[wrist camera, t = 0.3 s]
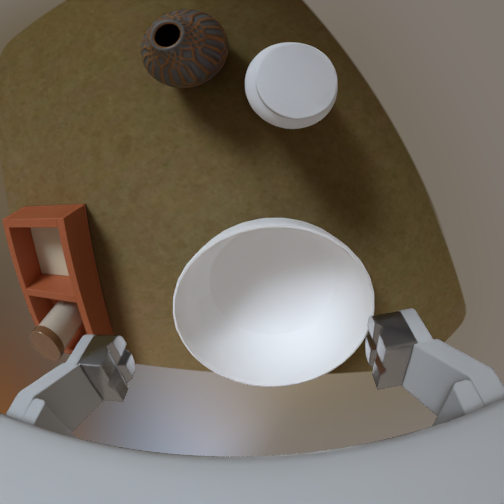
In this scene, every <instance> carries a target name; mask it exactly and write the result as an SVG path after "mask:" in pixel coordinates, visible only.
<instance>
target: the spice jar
mask: <svg viewBox="0 0 504 504" xmlns="http://www.w3.org/2000/svg"><path fill="white" fill-rule="evenodd" d="M82 324H83V321H82V318H81V315H80V312H79V309H78V305H77V302H69V301H62V300H59V301H58V302H57V303H56V304H55V306H54V307H53V308H52V309H51V310H50V312H49V313H48V314H47V315H46V316H45V318H44V319H43V320H42V321H41V322H40V324H39V325H38V326H36V327H35V329H34V330H33V331H32V332H31V334H30V341H31V343H32V345H33V347H34V348H35V349H36V351H37V352H38V353H39V354H40V355H42V356H43V357H44V358H46V359H48V360H50V361H58V360H59V359H60V358H61V356H62V355H63V353H64V350H65V349H66V347H67V346H68V344H69V343H70V341H71V340H72V338H73V337H74V335H75V334H76V332H77V331H78V329H79V328H80V327H81V325H82Z"/></svg>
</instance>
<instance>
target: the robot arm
mask: <svg viewBox="0 0 504 504" xmlns="http://www.w3.org/2000/svg"><path fill="white" fill-rule="evenodd" d="M367 327H368V329H369V332H370V333H369V334H368V335H367V336H366V342H365V349H366V356H367V360H368V363H369V365H371V366H372V367H373V372H372V375H373V378H374V381H375V384H376V387H377V389H384V388H388V387H394V386H399V385H402V387H403V388H405V389H406V390H407V391H408V392H409V393H411V394H412V395H413V396H414V397H415V398H417V399H418V400H419V401H420V402H422V403H423V404H424V405H425V406H426V407H427V408H429V409H430V410H431V411H432V412H433V413H434V414H436V415H437V416H438V417H437V419H436V420H435V422H434V424H433V425H432V427H429V428H425V429H422V430H419V431H415V432H412V433H408V434H404V435H400V436H397V437H392V438H388V439H384V440H380V441H375V442H370V443H366V444H361V445H355V446H350V447H344V448H338V449H332V450H324V451H317V452H308V453H298V454H287V455H272V456H249V457H248V456H247V457H217V456H193V455H179V454H167V453H158V452H149V451H142V450H135V449H129V448H122V447H116V446H111V445H106V444H101V443H96V442H92V441H87V440H83V439H79V438H77V437H76V436H75V435H74V434H73V433H72V432H73V431H74V430H75V429H76V428H77V427H78V426H79V425H80V424H81V423H82V422H83V421H84V420H85V419H86V418H87V417H88V416H89V415H90V414H91V413H92V412H93V411H94V410H95V409H96V408H97V407H98V406H99V405H100V404H101V403H102V402H103V400H106V401H118V402H123V401H124V398H125V396H126V393H127V391H128V385H127V382H128V381H130V380H131V379H132V378H133V375H134V372H135V362H134V358H133V356H132V354H131V353H130V352H129V351H128V350H126V349H125V347H126V342H125V340H124V338H123V337H122V336H120V335H101V334H97V335H95V334H86V335H83V336H82V338H81V339H80V341H79V343H78V344H77V346H76V347H75V349H74V350H73V352H72V354H71V355H70V357H69V358H68V360H67V362H66V363H62V364H61V365H59V366H58V367H56V368H54V369H53V370H51V371H50V372H49V373H47V374H45V375H44V376H42V377H41V378H40V379H38V380H37V381H35V382H34V383H32V384H31V385H29V386H28V387H26V388H25V389H23V390H22V391H20V392H19V393H18V395H17V396H16V398H15V399H14V401H13V403H12V405H11V406H10V408H9V410H8V411H7V413H6V415H3V414H1V413H0V504H504V386H503V384H502V383H501V381H500V380H499V378H498V376H497V375H496V373H495V371H494V370H493V368H491V367H489V366H487V365H485V364H483V363H482V362H480V361H478V360H476V359H474V358H472V357H470V356H469V355H467V354H465V353H463V352H461V351H459V350H457V349H455V348H453V347H452V346H450V345H448V344H446V343H444V342H442V341H440V340H439V339H435V340H433V338H432V336H431V335H430V333H429V331H428V330H427V328H426V327H425V325H424V323H423V322H422V320H421V318H420V317H419V315H418V314H417V312H416V311H415V309H413V308H410V309H405V310H400V311H396V312H391V313H385V314H379V315H373V316H369V319H368V324H367Z"/></svg>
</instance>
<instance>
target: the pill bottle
mask: <svg viewBox="0 0 504 504" xmlns="http://www.w3.org/2000/svg"><path fill="white" fill-rule="evenodd" d="M337 91H338V79H337V74H336V71H335V68H334V66H333V64H332V63H331V61H330V60H329V58H328V57H327V56H326V55H325V54H324V53H322V52H321V51H320V50H318V49H316V48H315V47H312V46H310V45H307V44H302V43H294V42H285V43H279V44H275V45H272V46H269V47H267V48H266V49H264V50H262V51H261V52H260V53H259V54H257V55H256V56H255V58H254V59H253V60H252V62H251V63H250V65H249V67H248V69H247V72H246V76H245V92H246V96H247V99H248V102H249V103H250V105H251V107H252V109H253V110H254V111H255V112H256V113H257V115H259V116H260V117H261V118H262V119H263V120H265V121H266V122H268V123H270V124H272V125H274V126H277V127H281V128H286V129H299V128H305V127H308V126H311V125H313V124H315V123H317V122H319V121H320V120H322V119H323V118H324V117H325V116H326V115H327V114H328V113H329V112H330V110H331V109H332V107H333V105H334V103H335V100H336V97H337Z"/></svg>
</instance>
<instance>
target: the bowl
mask: <svg viewBox="0 0 504 504" xmlns="http://www.w3.org/2000/svg"><path fill="white" fill-rule="evenodd" d="M373 314H374V290H373V287H372V283H371V279H370V276H369V274H368V272H367V270H366V269H365V267H364V265H363V263H362V262H361V260H360V259H359V258H358V257H357V256H356V255H355V254H354V253H353V252H352V251H351V249H350V248H349V247H348V246H346V245H345V244H344V243H342V242H341V241H340V240H338V239H337V238H336V237H334V236H333V235H331V234H330V233H328V232H327V231H325V230H324V229H322V228H320V227H317V226H315V225H312V224H310V223H307V222H304V221H300V220H294V219H288V218H261V219H256V220H251V221H247V222H243V223H240V224H238V225H236V226H233V227H231V228H229V229H226V230H224V231H223V232H221V233H220V234H218V235H217V236H216V237H214V238H213V239H211V240H210V241H209V242H208V243H207V244H206V245H204V246H203V247H202V248H201V249H200V250H199V251H198V252H197V253H196V255H195V256H194V257H193V258H192V259H191V260H190V261H189V262H188V263H187V264H186V266H185V268H184V270H183V271H182V273H181V275H180V277H179V279H178V281H177V284H176V288H175V292H174V295H173V317H174V321H175V326H176V329H177V332H178V334H179V336H180V338H181V340H182V342H183V344H184V345H185V346H186V348H187V349H188V350H189V351H190V353H191V354H192V355H193V356H194V357H195V358H196V359H197V360H198V361H199V362H201V363H202V364H203V365H204V366H205V367H207V368H209V369H210V370H212V371H213V372H215V373H217V374H218V375H221V376H223V377H226V378H228V379H230V380H232V381H236V382H240V383H244V384H247V385H254V386H263V387H275V386H276V387H278V386H288V385H295V384H300V383H303V382H306V381H310V380H313V379H316V378H318V377H320V376H322V375H324V374H326V373H328V372H330V371H332V370H333V369H335V368H336V367H338V366H339V365H341V364H342V363H344V362H345V361H346V360H347V359H348V358H349V357H350V356H351V355H352V354H353V353H354V352H355V351H356V350H357V348H358V347H359V346H360V344H361V343H362V342H363V340H364V339H365V337H366V334H367V332H368V330H369V329H368V327H367V324H368V319H369V316H373Z"/></svg>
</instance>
